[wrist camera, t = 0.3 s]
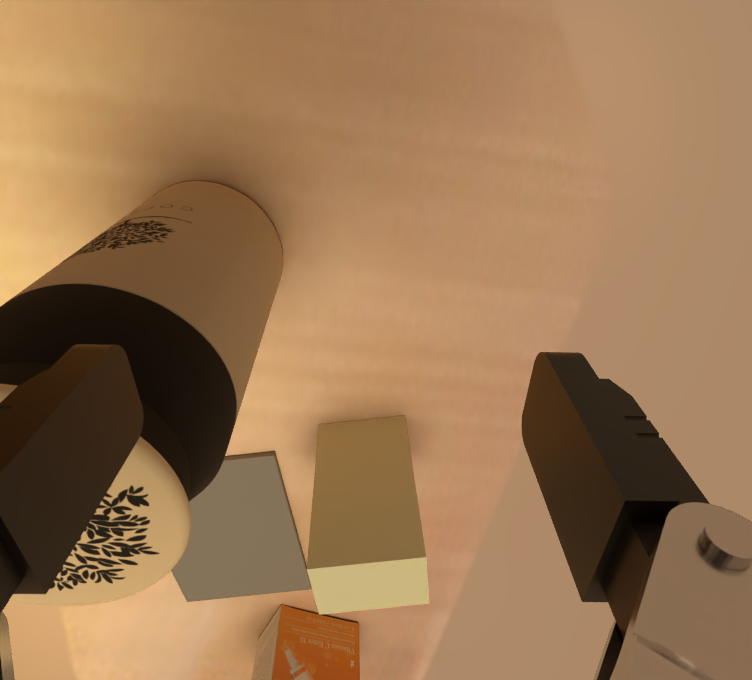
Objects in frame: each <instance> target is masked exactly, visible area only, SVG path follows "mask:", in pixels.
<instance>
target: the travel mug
mask: <svg viewBox="0 0 752 680" xmlns="http://www.w3.org/2000/svg"><path fill="white" fill-rule="evenodd" d="M282 268H283V253H282V247H281V243H280V240H279V237H278V234H277V232H276V230H275V228H274V226H273V224H272V223H271V221H270V220H269V218H268V217H267V215H266V214H265V213H264V212H263V211H262V210H261V209H260V208H259V207H258V206H257V205H256V204H255V203H254V202H253V201H252V200H250V199H249V198H248V197H246V196H245V195H243V194H241V193H240V192H238V191H236V190H234V189H232V188H229V187H227V186H224V185H221V184H217V183H213V182H206V181H188V182H182V183H178V184H174V185H172V186H169V187H167V188H165V189H163V190H161V191H160V192H158V193H157V194H156V195H154V196H153V197H151V198H150V199H149V200H147V201H146V202H145V203H143V204H142V205H140V206H139V207H138V208H136V209H135V210H134V211H132V212H131V213H129V214H128V215H127V216H125V217H124V218H122V219H121V220H120V221H118V222H117V223H116V224H114V225H113V226H111V227H110V228H109V229H107V230H106V231H104V232H103V233H102V234H100V235H99V236H98V237H96V238H95V239H93V240H92V241H91V242H89V243H88V244H87V245H85V246H84V247H82V248H81V249H80V250H78V251H77V252H75V253H74V254H73V255H71V256H70V257H69V258H67V259H66V260H64V261H63V262H62V263H60V264H59V265H58V266H56V267H55V268H53V269H52V270H51V271H49V272H48V273H46V274H45V275H44V276H42V277H41V278H40V279H38V280H37V281H35V282H34V283H33V284H31V285H30V286H28V287H27V288H26V289H24V290H23V291H22V292H20V293H19V294H17V295H16V296H15V297H13V298H12V299H11V300H9V301H8V302H6V303H5V304H4V305H2V306H1V307H0V403H1V402H2V401H3V400H4V399H5V398H6V397H7V396H8V395H9V394H10V393H11V392H12V391H13V390H14V389H15V388H16V387H17V386H19V385H21V384H22V383H24V382H26V381H27V380H29V379H31V378H33V377H34V376H36V375H38V374H39V373H41V372H43V371H45V370H49V369H50V368H51V367H52V366H53V365H54V364H55V363H56V362H57V361H58V360H59V359H60V358H61V357H62V356H63V355H64V354H65V353H66V352H67V351H68V350H69V349H70V348H71V347H72V346H74V345H77V344H96V345H119V346H121V347H122V348H123V349H124V350H125V352H126V354H127V357H128V360H129V364H130V367H131V370H132V374H133V377H134V380H135V384H136V387H137V390H138V394H139V397H140V400H141V404H142V407H143V415H144V419H143V427H142V432H141V435H140V437H139V439H138V441H137V443H136V444H135V446H134V448H133V449H132V451H131V453H130V454H129V456H128V458H127V459H126V461H125V463H124V465H123V466H122V468H121V470H120V471H119V473H118V475H117V476H116V478H115V480H114V481H113V483H112V485H111V486H110V488H109V490H108V491H107V493H106V495H105V496H104V498H103V500H102V501H101V503H100V505H99V506H98V508H97V510H96V511H95V513H94V515H93V517H92V518H91V520H90V522H89V523H88V525H87V527H86V528H85V530H84V532H83V533H82V535H81V537H80V538H79V540H78V542H77V543H76V545H75V547H74V548H73V550H72V552H71V553H70V555H69V557H68V558H67V560H66V562H65V563H64V565H63V567H62V568H61V570H60V572H59V574H58V575H57V577H56V579H55V580H54V582H53V584H52V585H51V587H50V589H49V590H48V592H47V594H13V595H12V597H11V598H10V600H9V601H15V602H20V603H27V604H35V605H47V606H83V605H93V604H99V603H105V602H110V601H114V600H118V599H121V598H125V597H128V596H131V595H133V594H136V593H138V592H140V591H142V590H144V589H146V588H148V587H150V586H152V585H153V584H155V583H156V582H158V581H159V580H161V579H162V578H163V577H164V576H165V575H167V574H168V573H169V572H170V571H171V570H172V569H173V568H174V567H175V565H176V564H177V563H178V561H179V560H180V558H181V557H182V555H183V553H184V551H185V549H186V547H187V544H188V541H189V538H190V532H191V511H190V505H189V501H191V500H192V499H193V498H194V497H196V496H197V495H198V494H200V493H201V492H202V491H203V490H204V489H205V488H206V487H207V486H208V485H209V484H210V483H211V482H212V481H213V479H214V478H215V477H216V475H217V473H218V472H219V470H220V468H221V465H222V463H223V461H224V457H225V454H226V451H227V448H228V445H229V441H230V438H231V435H232V432H233V428H234V425H235V422H236V419H237V416H238V412H239V409H240V406H241V403H242V400H243V396H244V393H245V390H246V387H247V384H248V380H249V377H250V374H251V371H252V368H253V364H254V361H255V358H256V355H257V351H258V348H259V345H260V342H261V339H262V335H263V332H264V329H265V326H266V323H267V319H268V316H269V313H270V310H271V307H272V303H273V300H274V297H275V294H276V291H277V287H278V284H279V281H280V277H281V274H282Z"/></svg>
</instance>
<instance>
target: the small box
mask: <svg viewBox="0 0 752 680" xmlns="http://www.w3.org/2000/svg"><path fill="white" fill-rule="evenodd" d="M251 680H360V660H359V624H358V623H354V622H349V621H344V620H340V619H336V618H332V617H327V616H323V615H319V614H315V613H311V612H306V611H302V610H298V609H295V608H291V607H289V606H285V605H281V606H280V607H279V609H278V610H277V612H276V613H275V615H274V616H273V618H272V619H271V621H270V622H269V624H268V625H267V627H266V628H265V630H264V631H263V633H262V635H261V636H260V638H259V639H258V644H257V649H256V655H255V661H254V667H253V673H252V679H251Z"/></svg>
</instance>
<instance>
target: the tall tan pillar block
mask: <svg viewBox="0 0 752 680" xmlns="http://www.w3.org/2000/svg"><path fill="white" fill-rule="evenodd" d="M307 572H308V576H309V580H310V583H311V587H312V590H313V594H314V597H315V601H316V605H317V608H318V612H319V615H321V614H331V613H341V612H351V611H360V610H370V609H380V608H390V607H400V606H409V605H419V604H429V589H428V576H427V562H426V553H425V546H424V539H423V533H422V526H421V520H420V513H419V506H418V500H417V493H416V486H415V480H414V473H413V467H412V460H411V453H410V447H409V440H408V433H407V427H406V420H405V415H404V416H395V417H385V418H376V419H366V420H357V421H348V422H338V423H329V424H319V429H318V441H317V453H316V465H315V477H314V489H313V500H312V512H311V524H310V536H309V548H308V560H307Z"/></svg>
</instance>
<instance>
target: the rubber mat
mask: <svg viewBox="0 0 752 680" xmlns="http://www.w3.org/2000/svg"><path fill="white" fill-rule="evenodd" d="M189 505H190V511H191V532H190V538H189V541H188V544H187V547H186V549H185V551H184V553H183V555H182V557H181V558H180V560H179V561H178V563H177V564H176V565H175V567H174V568H173V569H172V570H171V571H172V573H173V575H174V577H175V579H176V581H177V583H178V585H179V587H180V589H181V591H182V593H183V595H184V597H185V598H186V600H187V602H191V601H201V600H211V599H221V598H230V597H240V596H250V595H260V594H269V593H279V592H289V591H299V590H308V589H311V588H312V587H311V583H310V580H309V576H308V572H307V566H306V562H305V559H304V555H303V552H302V548H301V544H300V541H299V537H298V534H297V530H296V526H295V523H294V519H293V516H292V512H291V508H290V505H289V501H288V498H287V494H286V490H285V487H284V483H283V479H282V476H281V472H280V469H279V465H278V461H277V458H276V454H275V451H274V452H265V453H255V454H246V455H237V456H227V457H224V461H223V463H222V465H221V468H220V470H219V472H218V473H217V475H216V477H215V478H214V479H213V481H212V482H211V483H210V484H209V485H208V486H207V487H206V488H205V489H204V490H203V491H202V492H201V493H200V494H198V495H197V496H196V497H194V498H193V499H192V500H191V501H189Z"/></svg>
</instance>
